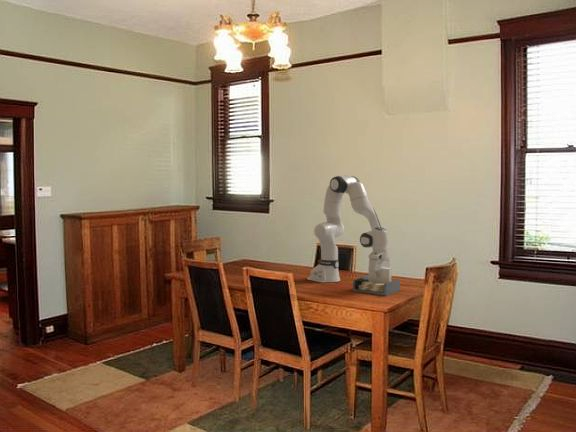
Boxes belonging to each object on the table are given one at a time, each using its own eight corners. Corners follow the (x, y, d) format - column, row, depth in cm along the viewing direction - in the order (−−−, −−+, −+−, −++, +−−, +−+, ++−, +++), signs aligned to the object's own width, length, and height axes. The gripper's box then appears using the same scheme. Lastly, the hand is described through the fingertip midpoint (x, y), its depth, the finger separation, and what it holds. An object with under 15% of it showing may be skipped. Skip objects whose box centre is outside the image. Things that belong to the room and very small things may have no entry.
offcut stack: (358, 288, 324) (358, 282, 323) (363, 287, 328) (363, 280, 328) (382, 292, 314) (382, 285, 314) (387, 290, 318) (387, 284, 318)
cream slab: (368, 285, 331) (368, 266, 330) (370, 285, 333) (370, 265, 332) (388, 288, 322) (389, 269, 321) (391, 288, 325) (391, 268, 324)
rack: (352, 291, 324) (353, 279, 324) (367, 286, 338) (367, 275, 338) (386, 296, 311) (386, 284, 310) (400, 290, 325) (400, 279, 325)
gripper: (383, 251, 336) (383, 273, 337) (367, 255, 320) (366, 279, 321) (392, 252, 332) (392, 275, 334) (376, 256, 316) (376, 280, 317)
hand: (379, 277), depth 327 cm, fingers closed on cream slab, 3 cm apart
